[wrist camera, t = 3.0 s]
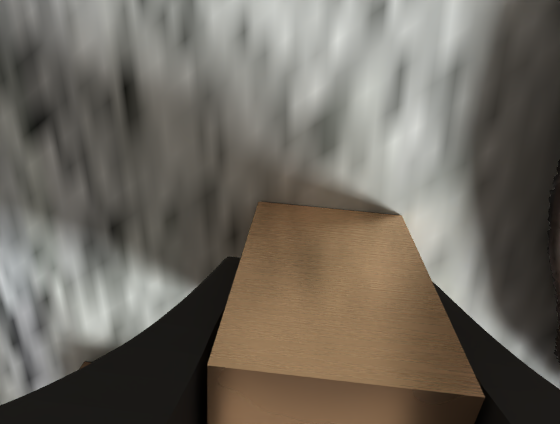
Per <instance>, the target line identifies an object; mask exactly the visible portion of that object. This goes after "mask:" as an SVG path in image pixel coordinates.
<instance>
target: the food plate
mask: <svg viewBox="0 0 560 424" xmlns="http://www.w3.org/2000/svg"><path fill="white" fill-rule="evenodd" d="M557 173H558V174H557V175H556V176H555V177H554V181H553V185H554V188H555V189H553V190H550V194H551V196H550V197H549V202H550V208H549V211H548V212H549V217H548V221H549V222H550V224H549V226H550V227H551V229H549V230H548V238H549V247H548V254H549V256H550V260H549V262H550V264H551V271H552V272H553V273H552V274H553V275H552V277H553V278H554V279H555V280H556V281H553V285H554V286H555V288H556V289H555V291H557V294H558V295H555V297H556V298H557V299H558V301H557V302H556V303H557V307H556V311H557V313H558V324H559V329H557V333H558V336H557V338H556V341H557V342H556V345H557V346H555V347H556V350H557V351H556V350H555V352H554V353H555V355H556V356H557V357H558V358H557V359H558V362H559V363H560V160H559V161H558V167H557Z"/></svg>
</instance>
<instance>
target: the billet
mask: <svg viewBox="0 0 560 424" xmlns="http://www.w3.org/2000/svg"><path fill="white" fill-rule="evenodd" d="M484 399H485V396H484V394H483V392H482V389H481V387H480V385H479V383H478V381H477V379H476V376H475V374H474V372H473V370H472V368H471V365H470V363H469V361H468V359H467V357H466V355H465V352H464V350H463V348H462V346H461V344H460V342H459V339H458V337H457V335H456V333H455V331H454V328H453V326H452V324H451V322H450V320H449V318H448V315H447V313H446V311H445V309H444V307H443V304H442V302H441V300H440V298H439V296H438V294H437V291H436V289H435V287H434V285H433V283H432V281H431V278H430V276H429V274H428V272H427V270H426V267H425V265H424V263H423V261H422V259H421V257H420V254H419V252H418V250H417V248H416V246H415V243H414V241H413V239H412V237H411V235H410V233H409V230H408V228H407V226H406V224H405V222H404V220H403V217H402V216H401V215H391V214H380V213H370V212H360V211H350V210H340V209H329V208H319V207H309V206H299V205H289V204H279V203H268V202H258V205H257V208H256V212H255V215H254V218H253V221H252V224H251V228H250V231H249V234H248V237H247V240H246V243H245V247H244V250H243V253H242V256H241V259H240V263H239V266H238V269H237V272H236V275H235V278H234V282H233V285H232V288H231V291H230V294H229V297H228V301H227V304H226V307H225V310H224V313H223V317H222V320H221V323H220V326H219V329H218V332H217V336H216V339H215V342H214V345H213V348H212V352H211V355H210V358H209V361H208V364H207V418H208V424H474V423H475V421H476V418H477V416H478V413H479V411H480V409H481V406H482V404H483V401H484Z"/></svg>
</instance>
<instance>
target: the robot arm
mask: <svg viewBox="0 0 560 424" xmlns="http://www.w3.org/2000/svg"><path fill="white" fill-rule="evenodd" d="M240 259H241V258H237V257H227V258H226V259H224V260H223V261H222V263H221V264H220V265H219V266H218V267H217V268H216V269H215V270H214V271H213V272H212V273H211V274H210V275H209V276H208V277H207V278H206V279H205V280H204V281H203V282H202V283H201V284H200V285H199V286H198V287H197V288H195V289H194V290H193V291H192V292H191V293H190V294H189V295H188V296H187V297H186V298H185V299H183V300H182V301H181V302H180V303H179V304H178V305H176V306H175V307H174V308H173V309H171V310H170V311H169V312H168V313H167V314H165V315H164V316H163V317H162V318H160V319H159V320H158V321H157V322H155V323H154V324H152V325H151V326H150V327H148V328H147V329H146V330H144V331H143V332H141V333H140V334H138V335H137V336H136V337H134V338H133V339H131V340H130V341H128V342H127V343H125V344H123V345H122V346H120V347H118V348H117V349H115V350H113V351H111V352H110V353H108V354H106V355H104V356H103V357H101V358H99V359H97V360H96V361H94V362H92V363H90V364H89V365H87V366H85V367H83V368H81V369H79V370H77V371H75V372H73V373H71V374H69V375H67V376H65V377H63V378H61V379H59V380H57V381H55V382H53V383H51V384H49V385H47V386H45V387H42V388H40V389H38V390H36V391H34V392H31V393H29V394H27V395H25V396H22V397H20V398H18V399H15V400H13V401H10V402H8V403H5V404H3V405H0V424H208V418H207V364H208V361H209V358H210V355H211V352H212V348H213V345H214V342H215V339H216V336H217V332H218V329H219V326H220V323H221V320H222V317H223V313H224V310H225V307H226V304H227V301H228V297H229V294H230V291H231V288H232V285H233V282H234V278H235V275H236V272H237V269H238V266H239V263H240ZM432 283H433V282H432ZM433 285H434V287H435V289H436V291H437V294H438V296H439V298H440V300H441V302H442V304H443V307H444V309H445V311H446V313H447V315H448V318H449V320H450V322H451V324H452V326H453V328H454V331H455V333H456V335H457V337H458V339H459V342H460V344H461V346H462V348H463V350H464V352H465V355H466V357H467V359H468V361H469V363H470V365H471V368H472V370H473V372H474V374H475V376H476V379H477V381H478V383H479V385H480V387H481V389H482V392H483V394H484V396H485V399H484V401H483V404H482V406H481V409H480V411H479V413H478V416H477V418H476V421H475V423H474V424H560V389H558V388H557V387H556V386H554V385H553V384H551V383H550V382H549V381H547V380H546V379H544V378H543V377H542V376H540V375H539V374H538V373H536V372H535V371H534V370H532V369H531V368H530V367H528V366H527V365H526V364H524V363H523V362H522V361H521V360H519V359H518V358H517V357H516V356H515V355H513V354H512V353H511V352H510V351H508V350H507V349H506V348H505V347H504V346H502V345H501V344H500V343H499V342H498V341H496V340H495V339H494V338H493V337H492V336H491V335H490V334H488V333H487V332H486V331H485V330H484V329H483V328H482V327H481V326H479V325H478V324H477V323H476V322H475V321H474V320H473V319H472V318H471V317H470V316H468V315H467V314H466V313H465V312H464V311H463V310H462V309H461V308H460V307H459V306H458V305H457V304H456V303H455V302H454V301H453V300H452V299H450V298H449V297H448V296H447V295H446V294H445V293H444V292H443V291H442V290H441V289H440V288H439V287H438V286H437V285H436V284H434V283H433Z"/></svg>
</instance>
